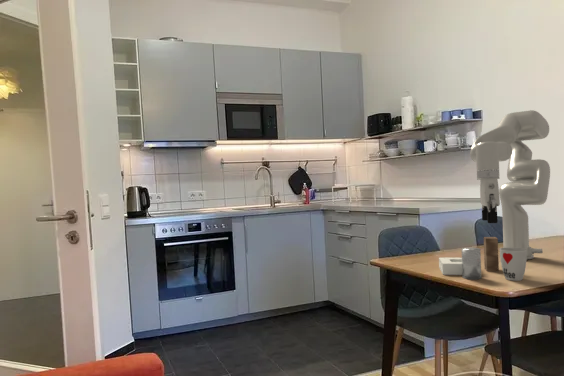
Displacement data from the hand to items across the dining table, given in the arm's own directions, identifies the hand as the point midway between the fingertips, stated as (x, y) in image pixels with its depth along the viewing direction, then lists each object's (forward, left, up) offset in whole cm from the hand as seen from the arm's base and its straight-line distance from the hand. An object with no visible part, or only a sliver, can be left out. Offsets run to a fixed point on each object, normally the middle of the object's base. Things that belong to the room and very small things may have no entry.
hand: (489, 221), depth 160 cm
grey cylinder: (+9, +13, -18) cm, 24 cm away
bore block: (+12, +3, -18) cm, 22 cm away
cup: (-4, +14, -18) cm, 23 cm away
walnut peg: (0, 0, -18) cm, 18 cm away
